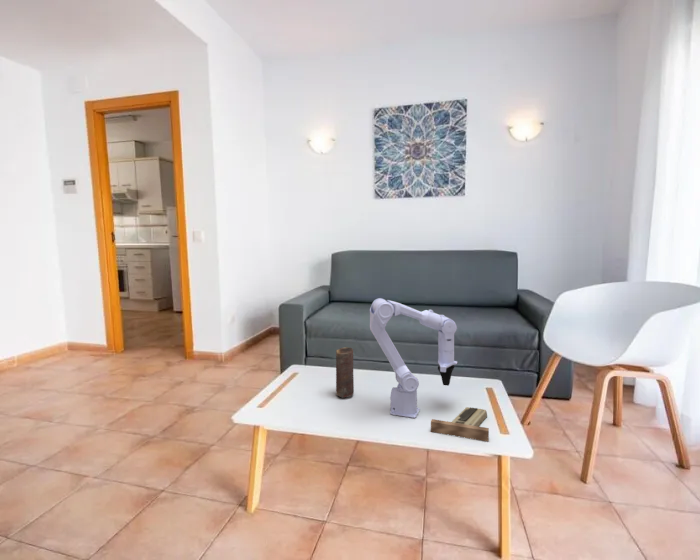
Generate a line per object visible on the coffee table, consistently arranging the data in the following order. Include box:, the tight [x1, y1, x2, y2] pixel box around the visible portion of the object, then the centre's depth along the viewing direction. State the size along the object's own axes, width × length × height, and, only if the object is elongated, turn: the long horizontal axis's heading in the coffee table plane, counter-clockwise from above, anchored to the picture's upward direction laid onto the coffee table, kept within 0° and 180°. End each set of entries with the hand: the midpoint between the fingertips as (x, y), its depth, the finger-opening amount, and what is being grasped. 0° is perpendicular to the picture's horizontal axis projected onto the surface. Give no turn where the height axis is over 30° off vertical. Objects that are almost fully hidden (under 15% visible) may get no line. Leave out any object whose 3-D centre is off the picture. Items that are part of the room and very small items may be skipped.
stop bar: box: [430, 418, 490, 442], centre depth 122 cm, size 18×2×4 cm, turn 67°
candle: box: [335, 346, 355, 399], centre depth 155 cm, size 8×7×20 cm
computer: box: [451, 406, 488, 427], centre depth 130 cm, size 16×8×3 cm, turn 143°
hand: (446, 384), depth 141 cm, fingers closed
